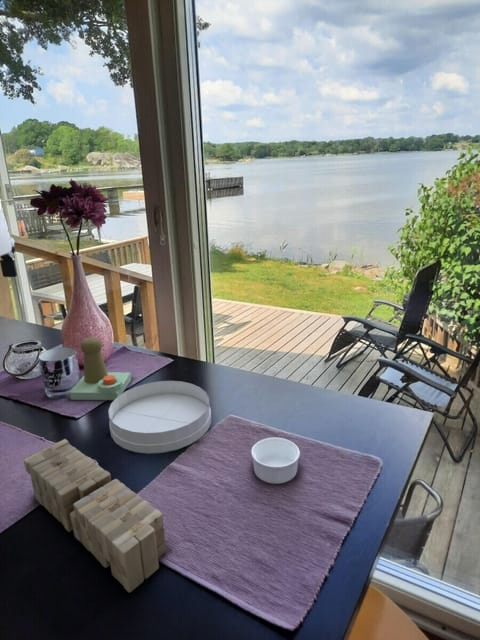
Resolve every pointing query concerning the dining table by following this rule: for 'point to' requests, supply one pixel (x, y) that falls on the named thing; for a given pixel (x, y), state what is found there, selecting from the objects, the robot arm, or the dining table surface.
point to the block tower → (99, 512)
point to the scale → (101, 388)
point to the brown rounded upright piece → (93, 360)
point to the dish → (159, 416)
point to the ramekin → (275, 460)
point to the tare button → (109, 380)
